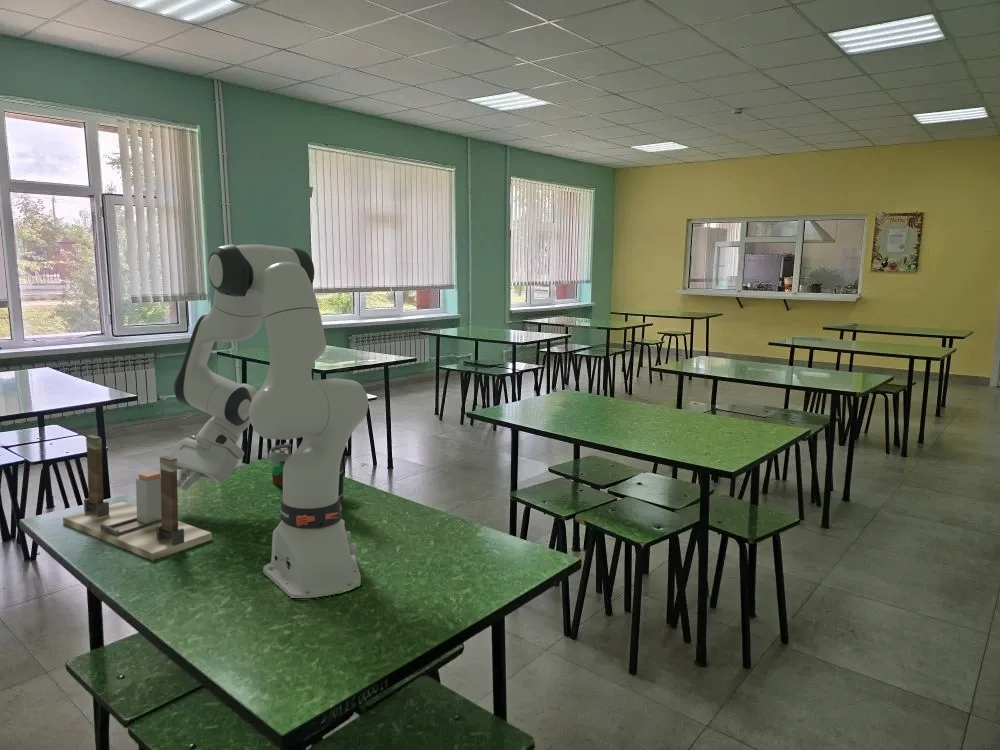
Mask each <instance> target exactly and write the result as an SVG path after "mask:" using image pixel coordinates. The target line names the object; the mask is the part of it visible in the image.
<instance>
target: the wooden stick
mask: <svg viewBox="0 0 1000 750" xmlns="http://www.w3.org/2000/svg"><path fill="white" fill-rule="evenodd" d="M102 440H103V439H102V437H101V436H97V435H94V434H91V435H86V436H85V442H86V443H85V445H86V446H85V447H86V460H87V463H86V464H87V485H88V486H87V489H88V498H89V502H90V503H89V505H88V508H89V509H92V510H94V511H97V507H96V504H99V503H102V502H104V483H103V482H104V481H103V479H104V478H103V451H102V449H103V442H102Z"/></svg>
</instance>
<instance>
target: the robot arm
mask: <svg viewBox="0 0 1000 750" xmlns="http://www.w3.org/2000/svg"><path fill="white" fill-rule="evenodd" d="M207 264H208V265H207V273H208V277H209V281H210V284H211V286H212V288H214V289H215V291H214V294H213V295H214V296H213V301H212V302H213V303H212V306H211V309H210V311H208V312H205V313H203V314H202V315H201V316H200V317H199V318H198V320H197V322H196V324H195V326H194V328H193V331H192V333H191V335H190V336H191V337H190V339H189V342H188V346H187V350H186V352H185V356H184V359H183V361H182V366H181V368H180V370H179V371H178V373H177V375H176V377H175V380H174V382H173V391H174V392H173V393H174V395H175V399H176V400H177V401H178V403H181V404H182V405H183V404H184V405H186V406H188V407H191V408H195V409H197V410H199V411H202V412H203V413H206V414H208V415H211V416H212V417H211V418H209V419H208V420H207V421H206V422H205V424H204V425H203V426H202V428H201V429H200V430H199V432H198V433H197V434H196V435H193V434H192V435H190V436H187V437H184V438H183V439H181V440H180V441H179V442H177V444H175V445H174V447H173V448H172V449H171V450H170V451H169V452H168V453H167V455H166V456H169V457H173V458H176V459H177V471H178V470H179V475H178V477H177V489H180V490H183V491H188V490H189V488H190V487H191V486H192V485H193V484H195V483H197V482H198V481H199V480H200V479H201V478H204V479H206V480H207V479H208V480H211V481H214V482H217V483H223V482H224V481H226V480H228V478H229V477H230V476H231V474H232V473H233V471H234V470H235V469H236V467H237V465H238V463H239V460H241V459H242V458H243V457H244V456H245V451H244V450H242V448H241V447H240V446H239V445H237V443H238V441H239V439H240V437H241V435H242V433H243V432H244V431H245V430H247V428H249V426H250V424H251V426H252V428H253V430H254V431H255V432H256V433H257V434H258V435H259V436H260V437H262V438H263V439H267V440H283V441H284V440H286V441H287V440H293V439H299V438H302V440H301V443H300V444H299V446H298V448H296V450H295V451H294V452H292V453H291V456H289V458H288V459H287V460H286V462H285V464H284V467H283V487H282V499H281V500H280V506H279V512H280V516H279V518H280V520H281V521H280V522H279V523H278V525H277V527H275V529H274V530H272V531H273V532H272V541H271V560H270V562H269V563H267V564H265V565H264V566H263V567H262V573H263V574H264V575H265V576H267V578H269V579H270V580H271V581H272V582H273V583H274V584H275V585H276V586H277V587H278V586H279V587H278V588H279V589H280V590H282V592H284V593H285V594H286V595H287V596H290V597H289V598H291V599H292V598H308V597H309V598H311V597H319V596H324V595H329V594H333V593H336V592H340V591H343V590H347V589H349V588H352V587H353V586H355V585H357V584H358V583H360V582H361V581H360V580H359V579H361V578H362V576H361V571H360V569H359V565H358V562H357V558H356V554H357V550H358V549H357V543H356V542H350V543H349V540H348V539H350V538H351V531H349V530H346V526H345V520H344V519H342V517H343V516H342V515H343V514H342V511H341V510H343V508H342V509H341V503H340V498H339V497H338V492H339V472H340V463H341V458H342V459H343V454H344V451H345V449H346V446H347V444H348V442H349V439H350V437H351V436H352V434H353V432H354V430H355V429H356V428H357V427H358V426H359V424H360V423H362V422H363V420H364V419H365V418H366V416H367V414H368V409H369V399H368V394H367V391H366V390H365V388H364V387H363V385H362V384H361V383H360V382H358V381H356V380H353V379H345V378H338V377H335V378H334V377H333V378H326V379H317V380H314V379H313V375H312V368H313V365H314V362H315V361H317V360H318V359H319V358H320V357H322V355H323V354H324V352H325V351H326V349H327V348H326V347H327V339H326V335H325V331H324V326H323V321H322V317H321V312H320V307H319V302H318V300H317V297H316V292H315V291H314V288H313V287H314V286H313V283H314V280H315V265H314V262H313V259H312V258H311V256H310V255H309V253H308V252H307V251H306V250H303V249H301V248H298V247H293V246H287V247H286V246H285V247H284V246H276V245H265V244H256V243H255V244H239V245H235V244H227V245H221V246H218V247H216V248H214V249H213V250H212V253H211V254H210V255H209V257H208V263H207ZM263 321H264V326H265V330H266V337H267V342H268V349H269V367H268V372H267V375H266V378H265V381H264V382H263V384H262V386H261V387H260V388H259V390H258V389H256V387H254V386H252V385H251V384H247V383H238V382H236V381H233V380H231V379H230V378H229V379H228V378H227V377H224V376H222V375H220V374H218V373H215V372H213V371H212V370H211V368H210V367H209V366H208V362H209V359H210V356H211V353H212V349H213V348H214V344H215V342H216V343H217V342H223V343H236V342H242V341H246V340H248V339H250V338H252V337H254V335H255V334H257V333H258V332H259V330H260V329H261V327H262V324H263ZM356 576H357V577H356ZM360 577H361V578H360ZM347 585H351V586H347Z"/></svg>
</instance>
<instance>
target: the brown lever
mask: <svg viewBox="0 0 1000 750" xmlns="http://www.w3.org/2000/svg"><path fill="white" fill-rule="evenodd" d="M159 469H160V470H159V471H160V472H159V473H160V477H161V516H162V529H163V530H162V531H161V535H162V536H163V537H166V538H169V539H171V532H172V531H175V530H178V521H179V509H178V508H179V504H178V502H179V500H178V496H179V495H178V488H177V480H178V469H177V459H176V458H173V457H169V456H167V455H164V456H160V457H159Z"/></svg>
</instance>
